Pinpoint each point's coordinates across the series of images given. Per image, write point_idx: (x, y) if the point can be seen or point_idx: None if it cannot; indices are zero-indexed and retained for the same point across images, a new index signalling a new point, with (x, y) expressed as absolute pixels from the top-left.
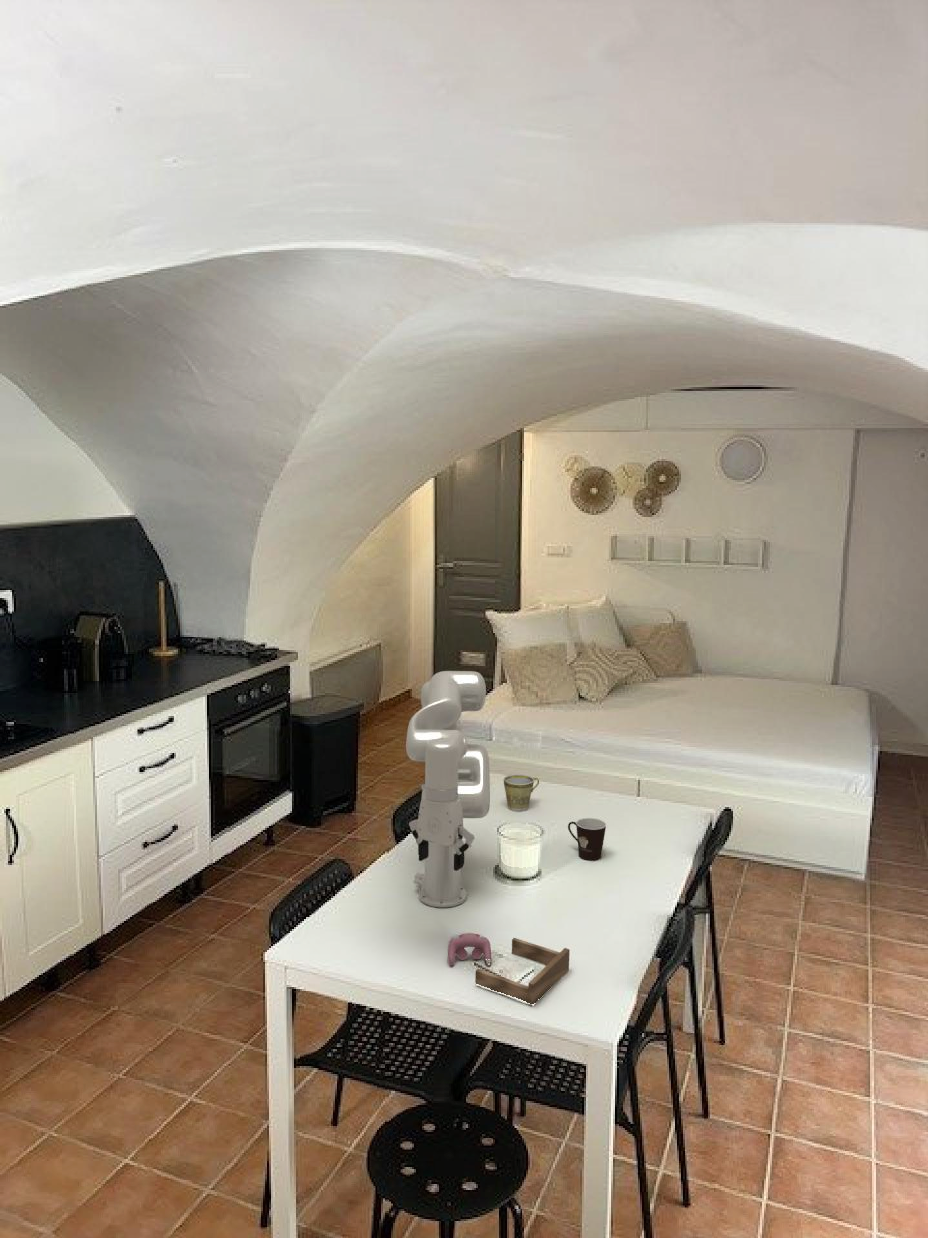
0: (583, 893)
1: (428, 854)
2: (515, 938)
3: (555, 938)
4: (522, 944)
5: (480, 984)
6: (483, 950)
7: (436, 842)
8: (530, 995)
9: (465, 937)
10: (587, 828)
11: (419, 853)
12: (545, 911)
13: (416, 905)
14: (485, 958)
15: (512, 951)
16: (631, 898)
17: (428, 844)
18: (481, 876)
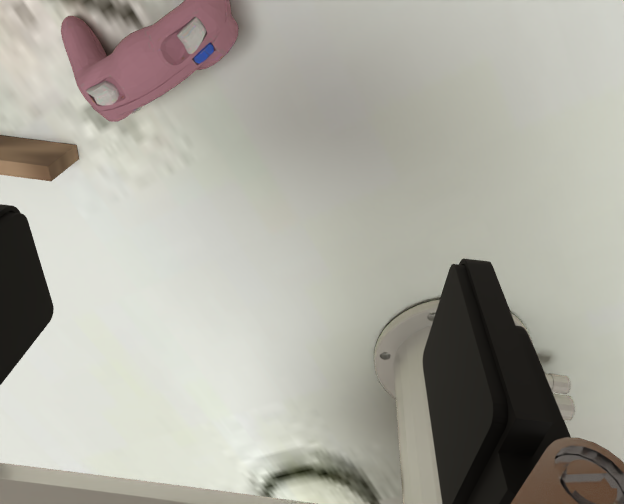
0: (130, 461)
1: (425, 378)
2: (42, 177)
3: None
4: (7, 158)
5: None
6: (98, 59)
7: (3, 489)
8: None
9: (144, 43)
10: None
11: (500, 319)
12: (152, 377)
13: (518, 288)
14: (80, 29)
15: (69, 148)
16: None
17: (440, 482)
18: (390, 462)
